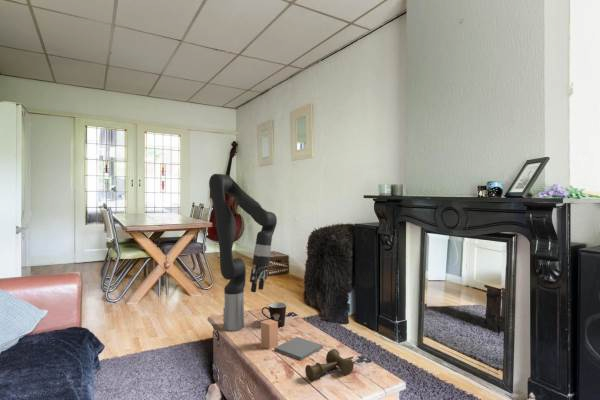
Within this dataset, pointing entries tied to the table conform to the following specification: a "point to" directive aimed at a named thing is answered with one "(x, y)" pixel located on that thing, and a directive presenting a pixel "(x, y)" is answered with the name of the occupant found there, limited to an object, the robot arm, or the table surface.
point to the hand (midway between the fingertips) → (257, 290)
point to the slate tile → (299, 348)
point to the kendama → (330, 365)
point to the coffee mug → (277, 313)
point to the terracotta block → (269, 334)
